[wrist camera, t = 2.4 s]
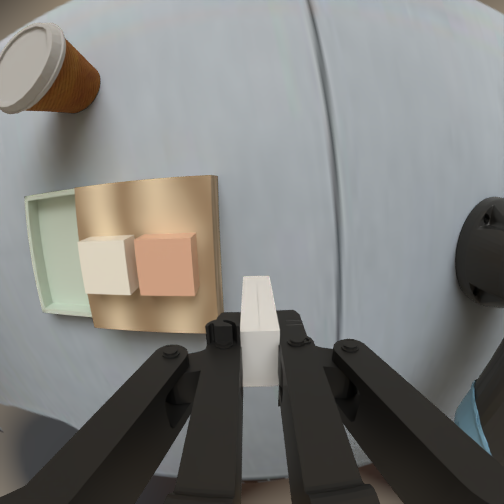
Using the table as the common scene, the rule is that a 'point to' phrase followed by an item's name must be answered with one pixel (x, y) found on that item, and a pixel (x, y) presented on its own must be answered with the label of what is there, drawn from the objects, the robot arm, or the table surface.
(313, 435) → the robot arm
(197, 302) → the tan wooden flat block
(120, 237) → the cream tile
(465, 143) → the table surface
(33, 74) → the disposable coffee cup
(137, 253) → the terracotta tile
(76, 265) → the tray
